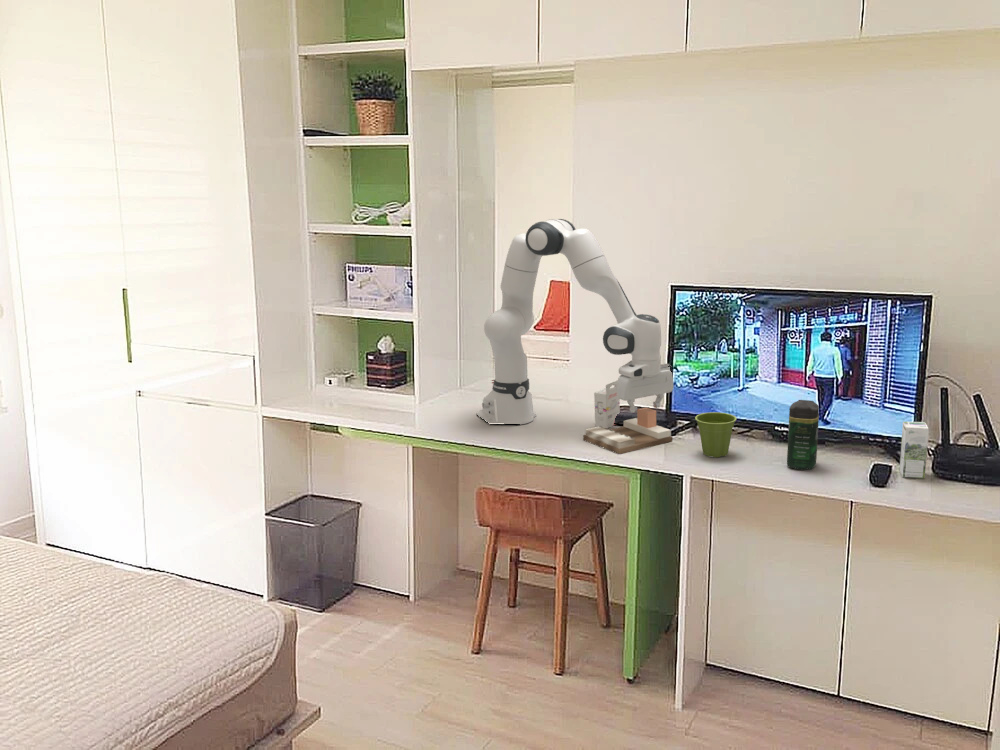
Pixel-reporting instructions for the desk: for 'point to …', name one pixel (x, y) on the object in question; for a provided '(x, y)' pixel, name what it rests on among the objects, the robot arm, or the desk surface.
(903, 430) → the syrup box
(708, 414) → the plant pot
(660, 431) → the white bar with block
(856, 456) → the desk surface
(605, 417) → the ink cartridge box
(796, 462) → the coffee jar
